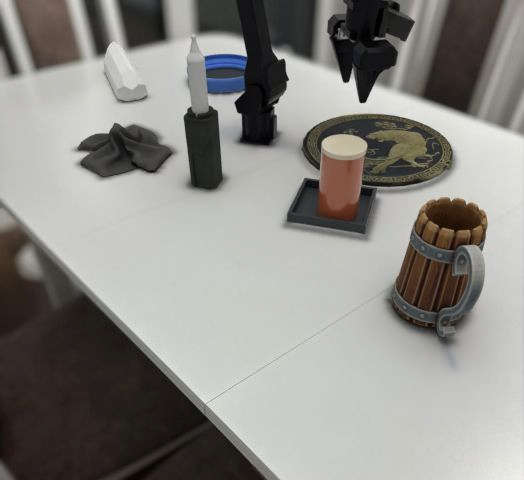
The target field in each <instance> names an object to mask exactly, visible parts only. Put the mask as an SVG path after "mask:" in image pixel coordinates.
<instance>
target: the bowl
mask: <svg viewBox="0 0 524 480" xmlns="http://www.w3.org/2000/svg"><path fill="white" fill-rule="evenodd" d="M203 56H204V58H205V68H206V80H207V92H209V93H233V92H238V91H242V90H245V85H244V72H245V67H246V62H247V55H241V54H236V53H215V54H214V53H213V54H207V55H203ZM186 74H187V75H188V69H187V68H186Z"/></svg>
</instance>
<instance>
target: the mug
mask: <svg viewBox="0 0 524 480" xmlns="http://www.w3.org/2000/svg"><path fill="white" fill-rule="evenodd" d="M488 224H489V222H488V217H487V213H486V212H485V210H484V209H480V207H479V205H478V204H476V203H474V202H470V201H469V202H468V203H467V201H466V200H465V199H463V198H459V197H454V198H453V199H452V200H451V197H448V196H441V197H439V198H438V199H435V198H432V199H429V200H428V201H427V202H425V204H423V205H422V206H421V208H420V209H419V210H418V214H417V217H416V219H415V220H414V221H413V225H412V228H411V231H410V235H409V241H408V245H407V248H406V251H405V254H404V257H403V259H402V263H401V266H400V269H399V273H398V275H397V276H396V278H395V282H394V283H393V288H392V291H391V296H392V299H391V301H392V306H393V307H394V309H395V310H396V312H398V314H399V315H400V316H401V317H403V318H404V319H406V320H407V321H409V322H410V323H413V324H415V325H418V326H421V327H427V328H436V331H437V334H438V336H439V337H441V338H442V337H443V338H444V337H453V336H455V335H456V332H457V331H456V329H455V326H453V325H454V324H456V323H458V322H459V321H460V320H461V318H462V317H464V315H466V314H468V313H470V312H471V311H472V310H474V308H475V306H476V304H477V302H478V301H479V299H480V297H481V295H482V292H483V289H484V285H485V279H486V278H485V277H486V263H485V257H484V254H483V251H484V247H485V243H486V240H487V230H488ZM451 325H452V326H451Z"/></svg>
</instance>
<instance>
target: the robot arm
mask: <svg viewBox="0 0 524 480" xmlns="http://www.w3.org/2000/svg"><path fill="white" fill-rule="evenodd" d="M342 2H343V4H345V5H346V10H345V13H333V14H332V15H331V16H330V18H329V19H328V20H327V28H326V33H328V35H329V37H328V38H329V41H330V44H331V47H332V50H333V54H334V57H335V60H336V63H337V66H338V70H339V73H340V74H339V75H340V76H341V77H340V78H341V80H342V82H343V84H349V83H350V80H351V76H352V74H353V77H354V82H355V87H356V93H357V98H358V102H359V104H366V103H367V101H368V100H369V97H370V94H371V92H372V91H373V88H374V86H375V84H376V82H377V80H378V78H379V76H380V75H381V74H382V73H383V72H384V71H385V70H390V69H391V68H392V67H395V66H397V63H398V56H399V51H398V50H397V48H396V47H395V46H394V44H392V43H391V42H390V41H389V40H387V39H386V35H389V36H392V37H395V38H397V39H399V41H402V42H406V43H407V40H408V38H409V36H410V34H411V32H412V29H413V27H414V26H415V23H416V21H415V19H413V18H412V17H410V16H409V15H408V14H406V13H404V12H403V11H401V3H399V2H398V1H396V0H342ZM235 3H236V8H237V13H238V18H239V24H240V28H241V33H242V39H243V43H244V47H245V54H246V56H247V62H246V67H245V72H244V85H245V89H244V92H242V94H241V95H240V96H239V97H238V98H237V99H235V101H234V102H233V103H234V107H235V110H236V113H237V114H240V115H241V137H240V138H239V142H240V143H245V144H254V145H260V146H269V145H271V143H272V142H273V140H274V139H275V138H276V136H277V135H278V115H277V114H275V108H276V107H275V105H277V104H279V102H280V99H281V97H283V96H284V94H285V93H286V91H287V88H288V81H290V78H289V76H288V74H287V73H288V72H287V62H286V58H280V59H279V58H278V56H277V55H276V54H275V52H274V51H273V47H272V42H271V41H272V40H271V36H270V30H269V29H270V28H269V24H268V17H267V12H266V6H265V1H264V0H235ZM376 38H378V39H376ZM352 72H353V73H352Z"/></svg>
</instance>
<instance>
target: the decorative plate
mask: <svg viewBox="0 0 524 480" xmlns="http://www.w3.org/2000/svg"><path fill="white" fill-rule="evenodd" d="M339 134H347V135H353V136H357V137H359V138H361V139H363V140H364V141H365V142H366V143H367V152H366V158H365V165H364V172H363V179H362V186H367V187H374V188H396V187H397V188H398V187H406V186H413V185H418V184H422V183H425V182H428V181H431V180H433V179H435V178H437V177H439V176H440V175H441V176H442V174H443V173H445V171H448V170H449V169H450V167H451V166H452V164H453V163H452V162H453V156H454V152H453V149H452V145H451V143H450V142H449V140H448V139H447V138H446V137H445V136H444V135H443V134H441V132H439V131H438V130H436V129H434V128H433V127H431V126H430V125H427V124H425V123H423V122H420V121H417V120H414V119H411V118H408V117H403V116H398V115H393V114H384V113H368V112H367V113H352V114H345V115H339V116H334V117H332V118H328V119H325V120H323V121H321V122H319V123H318V124H316V125H314V126H313V127H312V128H311V129H310V130H309V131H307V132H306V134H305V136H304V138H303V141H302V152H303V156H304V158H305V159H306V160H307V162H308V163H309V164H310V165H311V166H313V167H314V168H315V169H316V170H318V171H319V172H320V163H321V145H322V141H323V140H324V139H325V138H327V137H329V136H332V135H339Z"/></svg>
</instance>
